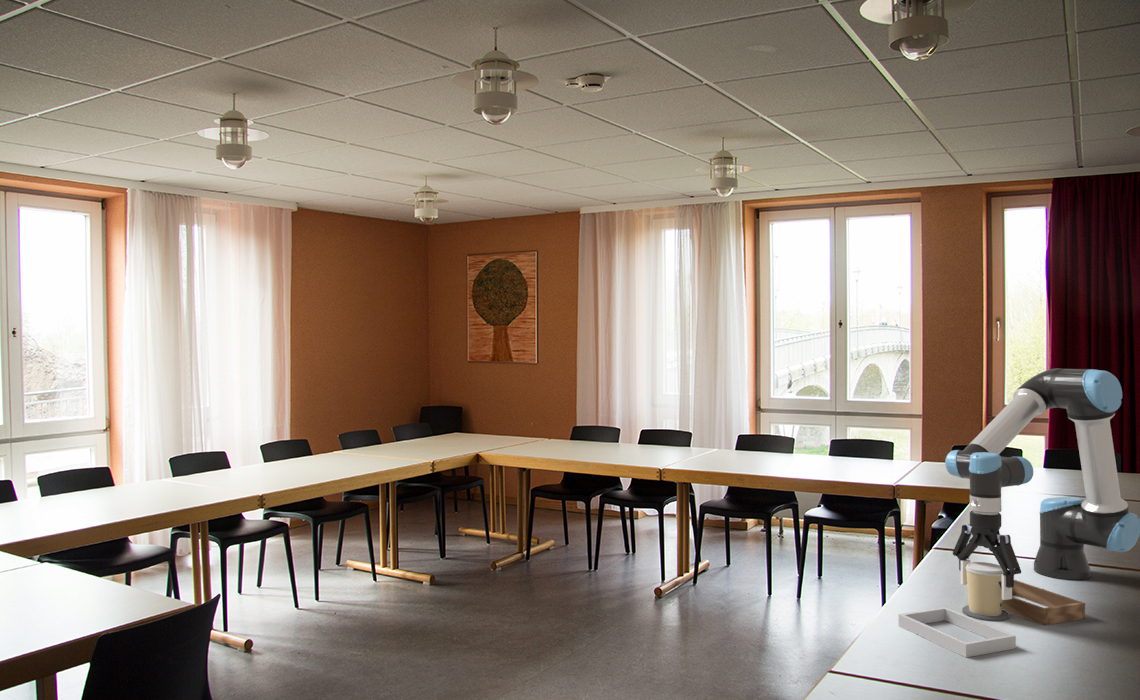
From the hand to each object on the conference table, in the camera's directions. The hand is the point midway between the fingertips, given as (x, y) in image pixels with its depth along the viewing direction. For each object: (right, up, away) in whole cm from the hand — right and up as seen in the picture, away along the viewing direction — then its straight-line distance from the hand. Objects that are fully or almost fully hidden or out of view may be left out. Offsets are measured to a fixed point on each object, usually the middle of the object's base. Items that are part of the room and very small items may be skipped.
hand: (985, 591), depth 221 cm
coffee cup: (0, -6, 0) cm, 5 cm away
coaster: (0, -6, 0) cm, 6 cm away
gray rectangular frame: (-16, -7, -16) cm, 23 cm away
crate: (+13, -6, +5) cm, 15 cm away
